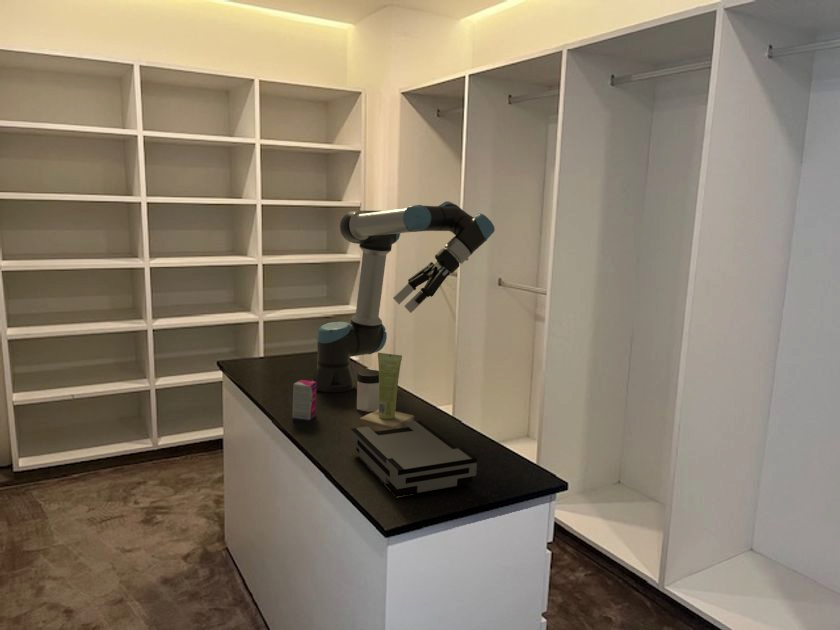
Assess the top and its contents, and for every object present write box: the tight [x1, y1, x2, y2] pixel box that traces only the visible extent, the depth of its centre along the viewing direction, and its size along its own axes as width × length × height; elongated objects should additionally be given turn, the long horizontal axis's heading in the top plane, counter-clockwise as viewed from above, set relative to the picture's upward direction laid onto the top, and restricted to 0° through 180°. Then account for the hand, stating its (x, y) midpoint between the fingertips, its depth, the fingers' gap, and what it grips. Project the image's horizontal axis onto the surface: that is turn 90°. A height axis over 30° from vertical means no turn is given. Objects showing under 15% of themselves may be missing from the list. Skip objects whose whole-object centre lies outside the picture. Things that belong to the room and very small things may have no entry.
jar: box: [356, 369, 379, 413], centre depth 210 cm, size 9×8×12 cm
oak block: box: [358, 409, 415, 432], centre depth 191 cm, size 12×12×4 cm
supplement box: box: [291, 379, 317, 422], centre depth 198 cm, size 6×6×12 cm
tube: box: [377, 352, 403, 419], centre depth 189 cm, size 6×5×20 cm
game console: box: [349, 419, 478, 498], centre depth 163 cm, size 21×32×8 cm, turn 26°
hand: (401, 305), depth 190 cm, fingers open, 13 cm apart
